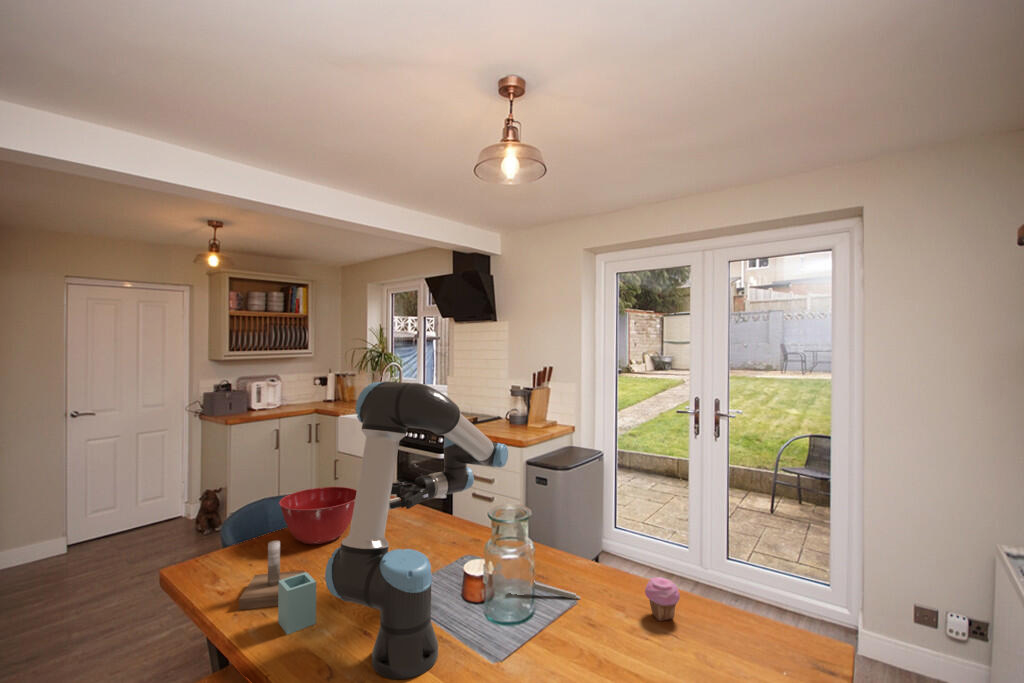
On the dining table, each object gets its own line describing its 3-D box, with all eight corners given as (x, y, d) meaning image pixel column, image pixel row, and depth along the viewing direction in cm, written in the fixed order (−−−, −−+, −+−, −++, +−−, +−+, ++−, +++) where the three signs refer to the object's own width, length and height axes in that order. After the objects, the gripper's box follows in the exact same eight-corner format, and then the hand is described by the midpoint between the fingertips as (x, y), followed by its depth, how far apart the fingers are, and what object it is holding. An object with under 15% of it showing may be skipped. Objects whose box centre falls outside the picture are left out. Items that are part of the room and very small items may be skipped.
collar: (315, 623, 125) (316, 581, 125) (286, 634, 120) (287, 591, 120) (306, 612, 130) (306, 571, 130) (278, 622, 125) (278, 580, 125)
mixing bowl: (279, 530, 187) (280, 490, 188) (355, 519, 200) (355, 482, 200) (277, 559, 162) (278, 514, 162) (364, 545, 174) (364, 502, 174)
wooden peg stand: (293, 604, 134) (294, 550, 134) (239, 609, 131) (239, 555, 131) (304, 580, 148) (304, 531, 148) (255, 584, 145) (255, 535, 145)
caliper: (510, 594, 141) (511, 572, 141) (511, 592, 142) (511, 571, 142) (580, 600, 137) (580, 578, 137) (580, 598, 138) (580, 577, 138)
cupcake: (656, 628, 124) (656, 589, 124) (639, 610, 132) (639, 574, 132) (686, 623, 126) (686, 585, 126) (667, 605, 134) (667, 570, 134)
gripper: (452, 508, 142) (387, 527, 128) (410, 489, 161) (349, 503, 146) (452, 483, 142) (387, 499, 128) (410, 467, 161) (349, 479, 146)
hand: (367, 501), depth 137 cm, fingers open, 13 cm apart
